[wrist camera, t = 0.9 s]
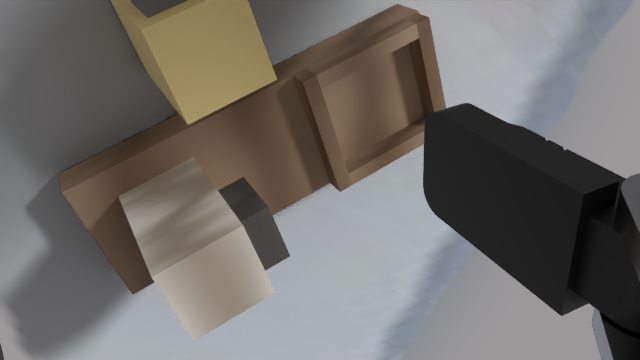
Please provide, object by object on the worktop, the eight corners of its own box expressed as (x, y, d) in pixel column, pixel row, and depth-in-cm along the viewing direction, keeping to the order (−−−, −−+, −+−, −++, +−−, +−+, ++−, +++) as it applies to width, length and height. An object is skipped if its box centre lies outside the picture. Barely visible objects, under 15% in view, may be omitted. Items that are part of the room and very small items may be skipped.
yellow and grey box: (221, 39, 29) (277, 79, 24) (147, 74, 28) (187, 124, 23) (176, -72, 26) (227, -55, 21) (91, -37, 25) (122, -9, 20)
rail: (397, 4, 33) (511, 42, 26) (420, 109, 37) (524, 167, 30) (57, 174, 28) (82, 277, 21) (125, 273, 32) (165, 388, 25)
